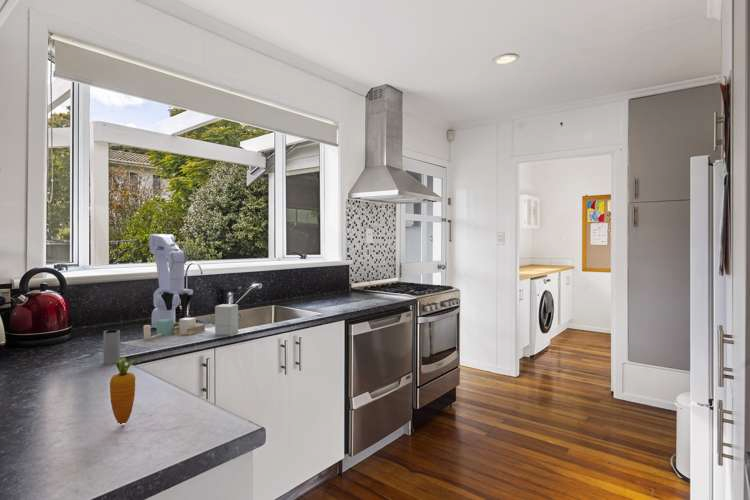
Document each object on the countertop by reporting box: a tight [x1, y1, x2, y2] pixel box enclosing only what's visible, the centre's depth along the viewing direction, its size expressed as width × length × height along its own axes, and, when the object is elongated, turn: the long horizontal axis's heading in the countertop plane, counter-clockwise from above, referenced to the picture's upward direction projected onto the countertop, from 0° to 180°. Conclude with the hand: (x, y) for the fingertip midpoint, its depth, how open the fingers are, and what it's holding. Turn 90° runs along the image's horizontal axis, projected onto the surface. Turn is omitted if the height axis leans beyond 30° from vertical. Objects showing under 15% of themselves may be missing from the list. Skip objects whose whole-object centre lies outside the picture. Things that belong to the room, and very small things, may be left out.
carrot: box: [109, 357, 136, 424], centre depth 90 cm, size 5×5×15 cm
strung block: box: [143, 319, 174, 341], centre depth 172 cm, size 4×13×6 cm, turn 165°
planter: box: [102, 329, 121, 365], centre depth 137 cm, size 4×4×10 cm
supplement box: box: [214, 303, 239, 337], centre depth 180 cm, size 7×7×13 cm
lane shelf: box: [172, 321, 206, 336], centre depth 181 cm, size 15×10×3 cm, turn 76°
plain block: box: [178, 317, 197, 334], centre depth 179 cm, size 4×4×6 cm
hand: (176, 310), depth 180 cm, fingers open, 7 cm apart
